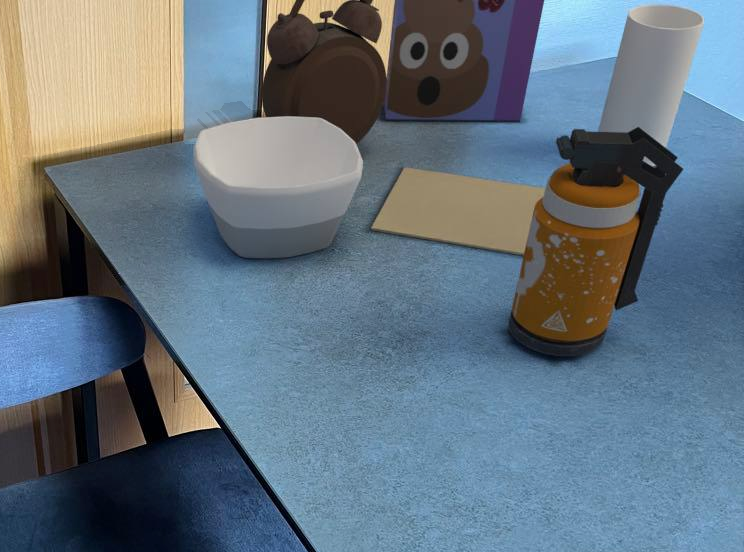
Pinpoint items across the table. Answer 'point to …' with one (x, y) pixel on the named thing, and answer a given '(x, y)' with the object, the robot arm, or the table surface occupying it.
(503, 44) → the cereal box
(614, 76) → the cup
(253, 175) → the bowl
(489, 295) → the table surface
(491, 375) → the table surface
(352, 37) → the alarm clock
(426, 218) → the mat
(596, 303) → the canister
